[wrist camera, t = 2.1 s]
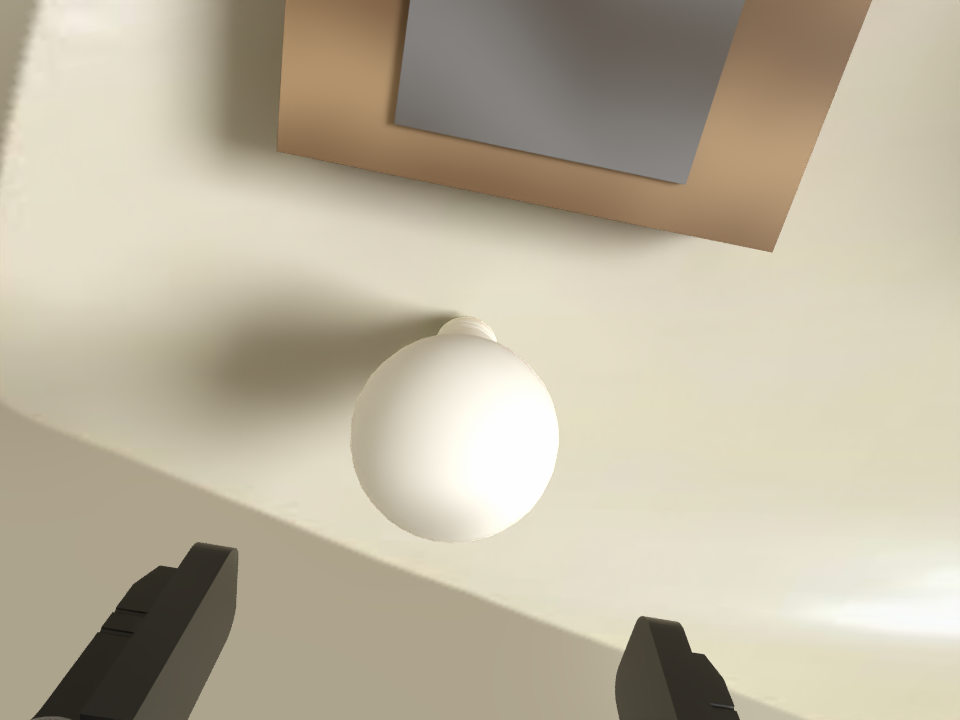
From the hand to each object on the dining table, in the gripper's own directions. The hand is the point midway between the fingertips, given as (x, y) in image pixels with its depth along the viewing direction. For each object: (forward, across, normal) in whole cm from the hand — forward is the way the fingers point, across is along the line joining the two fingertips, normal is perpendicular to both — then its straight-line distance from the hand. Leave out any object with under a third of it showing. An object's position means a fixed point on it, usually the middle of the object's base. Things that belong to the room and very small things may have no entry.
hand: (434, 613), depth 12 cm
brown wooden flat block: (+14, -1, -13) cm, 19 cm away
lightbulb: (+15, 0, 0) cm, 15 cm away
